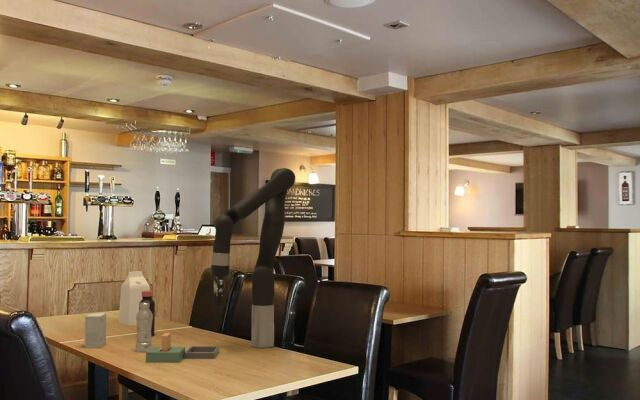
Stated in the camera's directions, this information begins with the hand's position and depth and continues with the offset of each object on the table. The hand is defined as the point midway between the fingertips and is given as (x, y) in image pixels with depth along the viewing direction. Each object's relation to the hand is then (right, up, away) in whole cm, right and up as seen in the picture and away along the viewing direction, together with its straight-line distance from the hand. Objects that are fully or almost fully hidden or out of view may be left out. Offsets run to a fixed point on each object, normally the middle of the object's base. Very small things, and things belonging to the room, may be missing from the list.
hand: (217, 303), depth 247 cm
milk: (-52, -20, +61) cm, 83 cm away
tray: (-3, -18, -18) cm, 25 cm away
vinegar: (-37, -19, +27) cm, 50 cm away
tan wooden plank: (-15, -16, -25) cm, 33 cm away
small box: (-51, -18, +4) cm, 55 cm away
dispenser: (-15, -17, -25) cm, 34 cm away
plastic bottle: (-27, -18, -11) cm, 34 cm away
